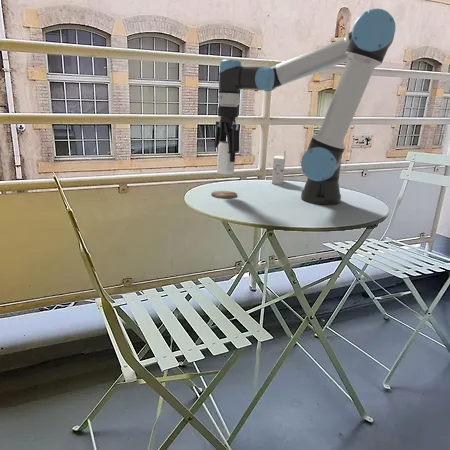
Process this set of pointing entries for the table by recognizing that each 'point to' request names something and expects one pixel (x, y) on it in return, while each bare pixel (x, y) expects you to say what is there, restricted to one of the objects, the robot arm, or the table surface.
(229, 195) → the coaster
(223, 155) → the can
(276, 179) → the ink cartridge box
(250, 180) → the table surface
